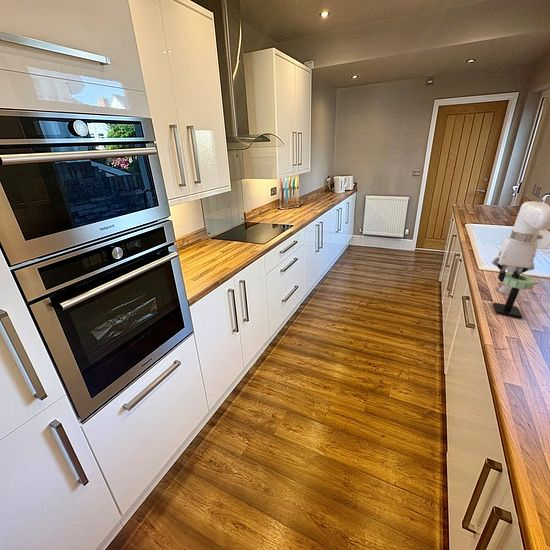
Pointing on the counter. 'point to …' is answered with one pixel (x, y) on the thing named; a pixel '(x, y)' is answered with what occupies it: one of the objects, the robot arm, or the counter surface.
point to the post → (509, 305)
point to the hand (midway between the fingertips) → (506, 281)
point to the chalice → (506, 288)
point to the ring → (519, 281)
